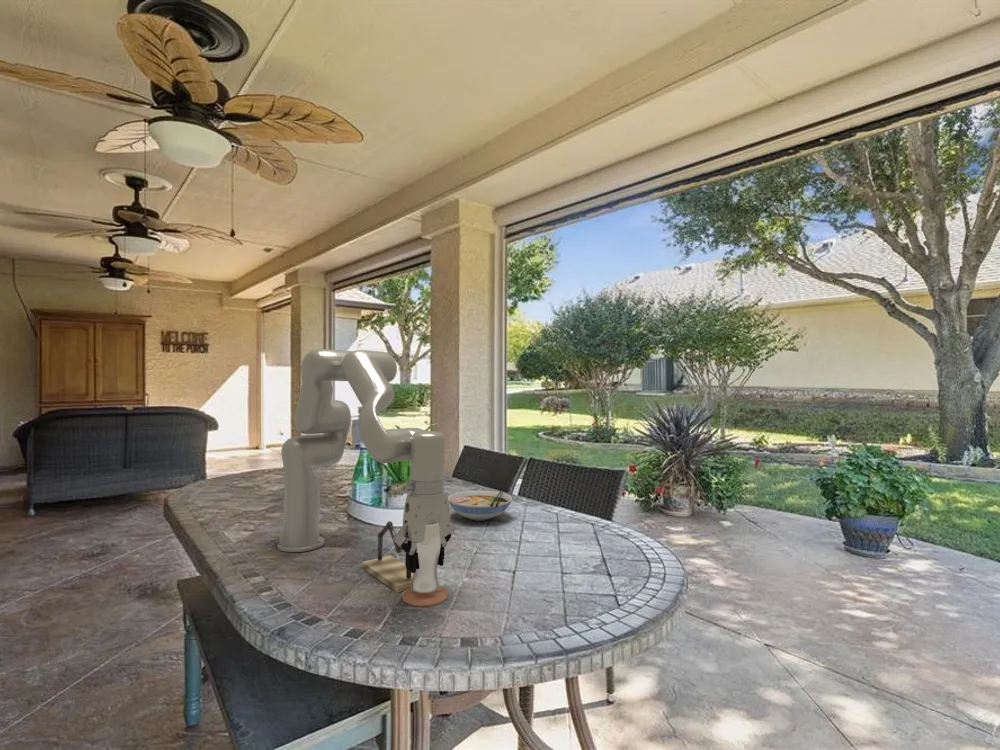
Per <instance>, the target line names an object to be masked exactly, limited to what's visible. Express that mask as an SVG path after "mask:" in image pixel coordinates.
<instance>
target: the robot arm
mask: <svg viewBox="0 0 1000 750" xmlns="http://www.w3.org/2000/svg"><path fill="white" fill-rule="evenodd" d="M300 373H301V386H300V390H299V394H298V395H299V396H298V401H297V404H296V409H295V414H294V421H293V423H294V424H293V425H294V428H295V430H296V431H297V432H298V433H301V434H304V435H297V436H296V435H295V436H293V437H290V438H288V439H286V440H285V442H284V443H283V444H282V446H281V450H280V451H281V454H280V455H281V460H282V465H283V467H282V468H283V474H284V476H283V477H284V490H283V491H284V493H283V494H284V495H283V496H284V498H283V499H284V500H283V501H284V503H283V529H276V528H273V529H272V530H271V536H270V538H271V539H279V541H278V542H277V546H276V547H277V549H278V550H279V551H281V552H284V553H300V552H301V553H303V552H309V551H313V550H316V549H319V548H321V547H322V546H324V544H325V538H324V536H321V535H320V507H321V505H320V501H321V492H320V491H321V484H320V480H319V478H318V476H317V475H316V473H315V471H314V470H313V469H315V468H317V467H318V468H319V467H326V466H332V465H336V464H338V463H340V461H341V460H342V458H343V455H344V451H345V449H346V444H347V440H348V436H349V433H350V428H351V423H352V414H351V409H350V407H349V405H348V404H347V403H346V402H345V401H342V400H338V399H337V400H336V399H335V400H334V399H332V396H333V394H334V393H333V392H334V389H333V387H334V386H333V384H332V382H347V383H348V384H349V385H350V387H351V389H352V391H353V392H354V394H355V397H357V400H358V401H359V403H360V406H361V409H360V411H359V416H358V433H359V436H360V439H361V441H362V443H363V445H364V446H365V447H364V448H366V450H367V452H368V453H369V455H370V457H372V458H373V460H375V461H376V462H378V463H381V464H390V463H397V462H403V461H404V462H405V461H410V462H409V463H410V466H409V480H408V481H409V483H407V484H404V490H405V491H406V492H407V491H408V492H409V493H407V494H406V498H405V502H404V508H403V517H402V526H401V528H400V529H399V530H398V531H397V532H396V535H395V536H394V537H393V540H392V542H393V541H394V542H395V543H396V544H397V545H398V546H399V547H400V548H401V549H402V552H404V553H405V560H404V561H405V563H404V564H405V566H406V569H407V570H408V571H410V572H412V573H415V572H416V557H417V556H416V554H414V552H415V549H416V543H420V542H423V541H424V537H425V530H426V528H425V525H427V524H434V523H437V522H440V525H439V526H440V537H441V549H440V555H439V560H438V566H440V567H442V566H444V563H445V548H446V547H447V546H448V542H449V541H450V539H451V538H452V535H453V534H454V532H455V531H456V529H457V526H456V525H455V524H454V523H453V522H452V521H451V512H450V503H449V501H448V496H449V495H448V493H447V491H445V490H444V489H445V488H444V484H445V481H444V480H445V479H444V478H445V443H446V442H445V440H446V439H445V435H444V434H443V433H442V432H440V431H434V430H425V429H422V428H419V427H402V428H390V429H389V428H388V429H386V428H385V427H384V425H383V424H382V422H381V420H380V418H379V416H378V413H380V412H382V411H383V410H385V409H387V408H388V407H389V406H390V405H391V404H392V402H393V400H394V398H395V390H394V388H393V387H392V385H391V383H390V382H392V381H393V380H394V379H395V378H396V376H397V373H398V367H397V362H396V360H395V359H394V357H393V356H392V355H391V354H390V353H388V352H386V351H380V350H379V351H378V350H377V351H376V350H368V349H367V350H363V349H357V350H342V349H326V348H325V349H323V348H321V349H320V348H319V349H318V348H317V349H313V350H310V351H308V352H307V353H306V354H305V356H304V357H303V359H302V361H301V367H300ZM406 538H407V541H406V543H405V542H404V540H403V539H406ZM410 541H411V542H412V543H411V544H410ZM394 542H393V543H394Z"/></svg>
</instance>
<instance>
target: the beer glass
mask: <svg viewBox="0 0 1000 750" xmlns="http://www.w3.org/2000/svg"><path fill="white" fill-rule="evenodd" d="M439 525H440V522H437V523H434V524H427V525H425V528H426V530H425V537H424V541H423V542H420V543H416V549H415V552H414V554H416V556H417V557H416V572H415V573H413V579H412V584H411V589H412V591H414V592H417V593H431V592H434V591H436V590H437V589H438V587H439V586H440V584H439V579H438V566H439V565H438V560H439V555H440V549H441V537H440V526H439ZM411 543H412V542H411V541H410V544H411Z"/></svg>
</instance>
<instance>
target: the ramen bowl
mask: <svg viewBox="0 0 1000 750" xmlns="http://www.w3.org/2000/svg"><path fill="white" fill-rule="evenodd" d="M503 491H504V490H503V489H501V490H500V491H492V490H465V491H460V492H454V493H451V494H449V495H447V496H448V501H449V506H451V508H452V509H453V510H454V511H455V512H456V513H458V514H459V515H460V516H461V517H463V518H466V519H469V520H471V521H473V520H475V521H476V522H485V520H486V521H489V520H490V519H494V518H496V517H498V516H500V515H501V514H503V513H504V512H505V511H506V510H507V509H508V508H509V506H510V505H511V503H512V502H513V497H512V496H511V495H510V494H507V493H505V492H504V493H503ZM475 521H474V522H475Z"/></svg>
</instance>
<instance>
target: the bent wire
mask: <svg viewBox="0 0 1000 750" xmlns="http://www.w3.org/2000/svg"><path fill="white" fill-rule="evenodd" d="M388 531H389V534H390V536H391V539H392V542H393V545H394V547H395V552H396V553H397V554H400V553H402V552H403V550H402V549H401V548H400V547H399V546H398V545H397V544H396V543H395V542H394V541H393V537H394V536H395V535H396V534H397V532H396V530H395V528H394V523H393V521H387V523H386V524H385V526H384V527H383V528H382V529H381V531H379V532H378V533H377V535H376V537H377V558H378V560H382V557H383V550H384V549H383V545H384V543H383V541H384V540H383V538H384V535H385V534H386V533H387V532H388ZM403 541H404V542H405V543H406V541H407V538H404V540H403ZM406 578H411V572H410V571H408V570H407V569H406Z"/></svg>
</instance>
